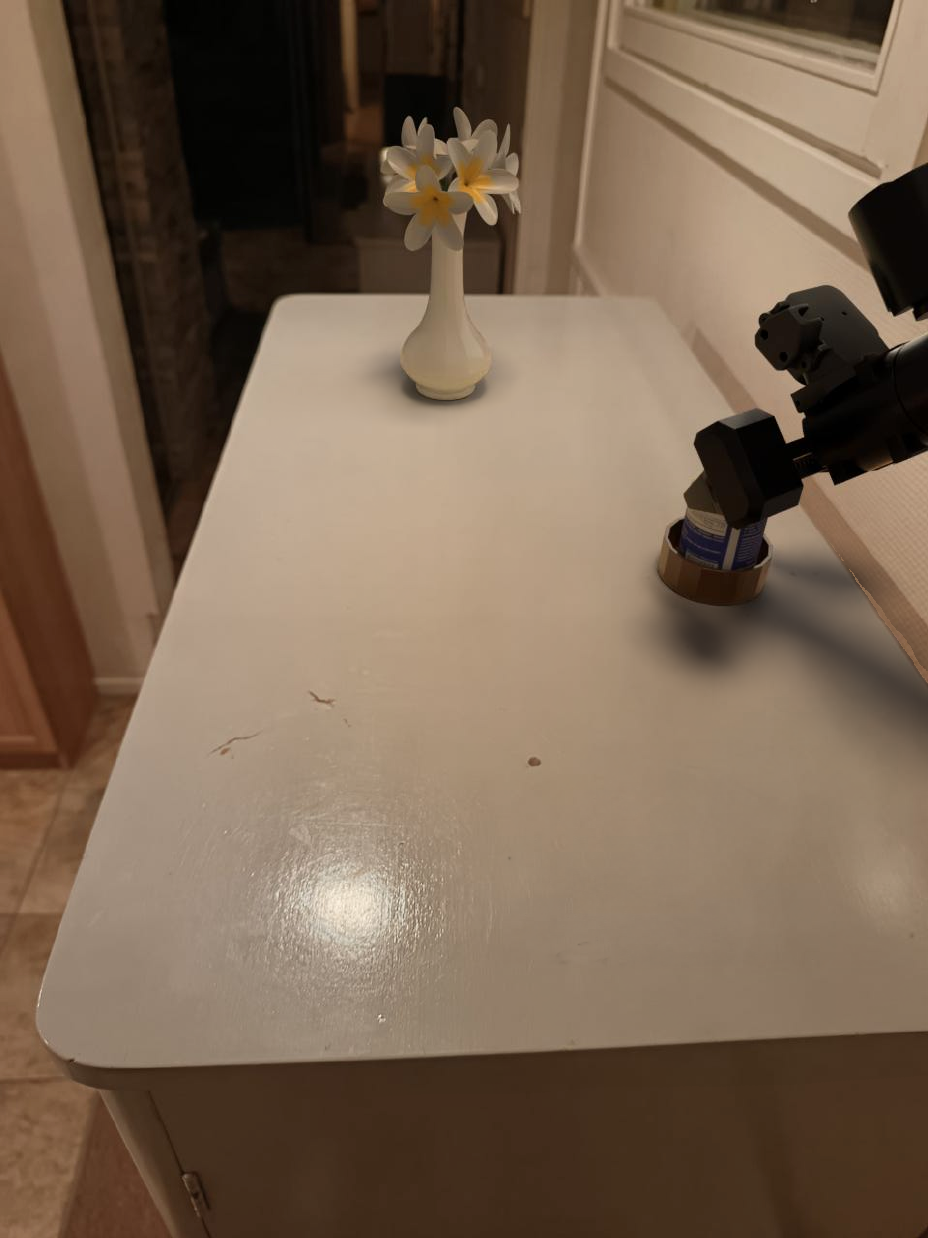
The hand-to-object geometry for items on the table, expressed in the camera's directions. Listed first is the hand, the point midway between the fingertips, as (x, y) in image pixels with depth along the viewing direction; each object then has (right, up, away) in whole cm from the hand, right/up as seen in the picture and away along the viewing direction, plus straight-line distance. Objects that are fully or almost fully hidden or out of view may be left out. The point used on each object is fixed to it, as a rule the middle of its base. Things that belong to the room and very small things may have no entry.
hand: (733, 483), depth 62 cm
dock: (0, -6, +5) cm, 8 cm away
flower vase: (-20, +14, +30) cm, 39 cm away
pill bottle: (0, -6, +5) cm, 8 cm away
